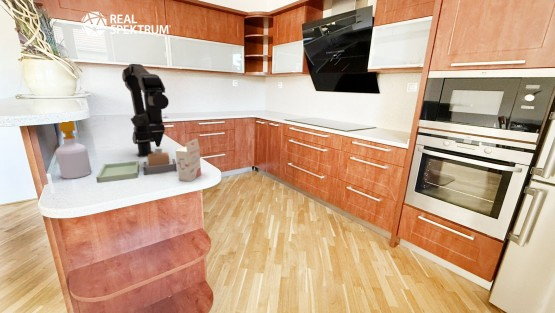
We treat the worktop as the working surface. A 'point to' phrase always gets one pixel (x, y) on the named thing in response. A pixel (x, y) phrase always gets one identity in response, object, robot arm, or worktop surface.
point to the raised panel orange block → (158, 158)
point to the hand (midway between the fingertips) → (157, 144)
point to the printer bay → (159, 168)
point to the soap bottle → (72, 154)
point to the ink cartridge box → (188, 161)
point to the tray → (118, 171)
